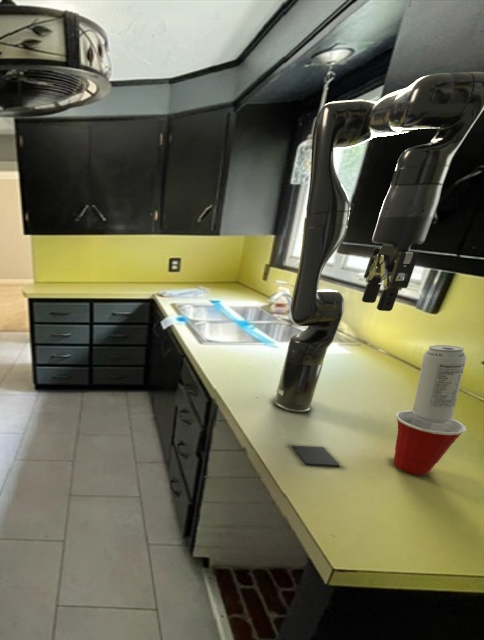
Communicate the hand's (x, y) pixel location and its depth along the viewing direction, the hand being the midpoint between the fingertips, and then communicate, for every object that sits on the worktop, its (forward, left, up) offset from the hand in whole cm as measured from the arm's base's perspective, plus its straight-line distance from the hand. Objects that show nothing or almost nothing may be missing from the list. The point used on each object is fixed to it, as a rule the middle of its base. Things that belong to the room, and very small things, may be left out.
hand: (375, 306), depth 71 cm
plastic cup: (0, +16, -34) cm, 38 cm away
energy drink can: (0, +16, -22) cm, 27 cm away
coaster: (+3, -3, -34) cm, 34 cm away
